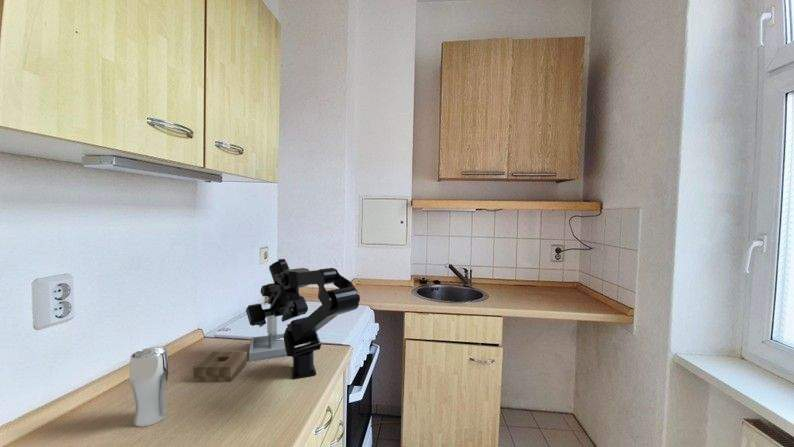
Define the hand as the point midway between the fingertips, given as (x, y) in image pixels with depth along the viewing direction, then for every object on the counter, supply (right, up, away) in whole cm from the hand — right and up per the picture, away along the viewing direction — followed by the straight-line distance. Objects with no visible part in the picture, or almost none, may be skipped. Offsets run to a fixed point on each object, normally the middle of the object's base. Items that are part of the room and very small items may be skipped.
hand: (271, 323), depth 113 cm
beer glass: (-13, -10, -38) cm, 41 cm away
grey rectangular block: (0, -8, 0) cm, 8 cm away
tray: (+1, -9, -1) cm, 9 cm away
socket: (-8, -9, -17) cm, 21 cm away
